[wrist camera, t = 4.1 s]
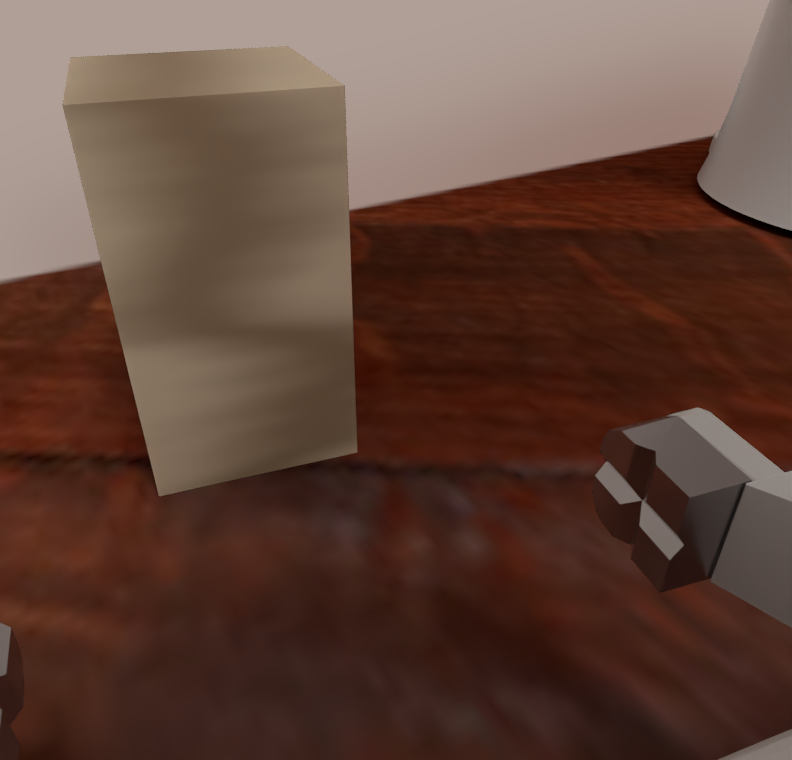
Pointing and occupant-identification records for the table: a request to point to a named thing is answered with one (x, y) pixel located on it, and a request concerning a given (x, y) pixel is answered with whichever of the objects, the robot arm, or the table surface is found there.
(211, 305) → the maple block
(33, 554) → the table surface
